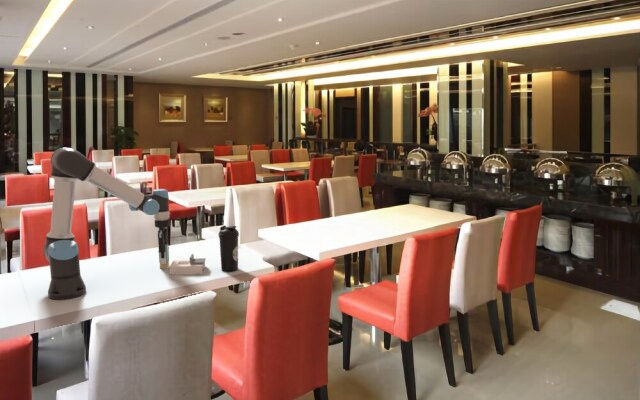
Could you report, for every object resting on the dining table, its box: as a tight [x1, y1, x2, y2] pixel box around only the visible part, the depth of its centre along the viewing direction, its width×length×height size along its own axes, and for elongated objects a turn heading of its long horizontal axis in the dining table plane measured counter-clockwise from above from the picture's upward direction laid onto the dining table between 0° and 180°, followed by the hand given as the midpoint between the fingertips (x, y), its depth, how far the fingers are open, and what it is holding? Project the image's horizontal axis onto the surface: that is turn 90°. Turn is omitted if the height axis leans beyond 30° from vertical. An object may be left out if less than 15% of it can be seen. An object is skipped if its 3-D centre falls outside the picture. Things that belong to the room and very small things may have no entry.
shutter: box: [189, 253, 206, 264], centre depth 251 cm, size 7×7×3 cm
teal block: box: [158, 243, 170, 269], centre depth 255 cm, size 4×4×12 cm
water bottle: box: [218, 225, 240, 273], centre depth 251 cm, size 10×10×23 cm
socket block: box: [168, 258, 206, 275], centre depth 251 cm, size 16×12×4 cm
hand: (164, 262), depth 256 cm, fingers closed on teal block, 4 cm apart
